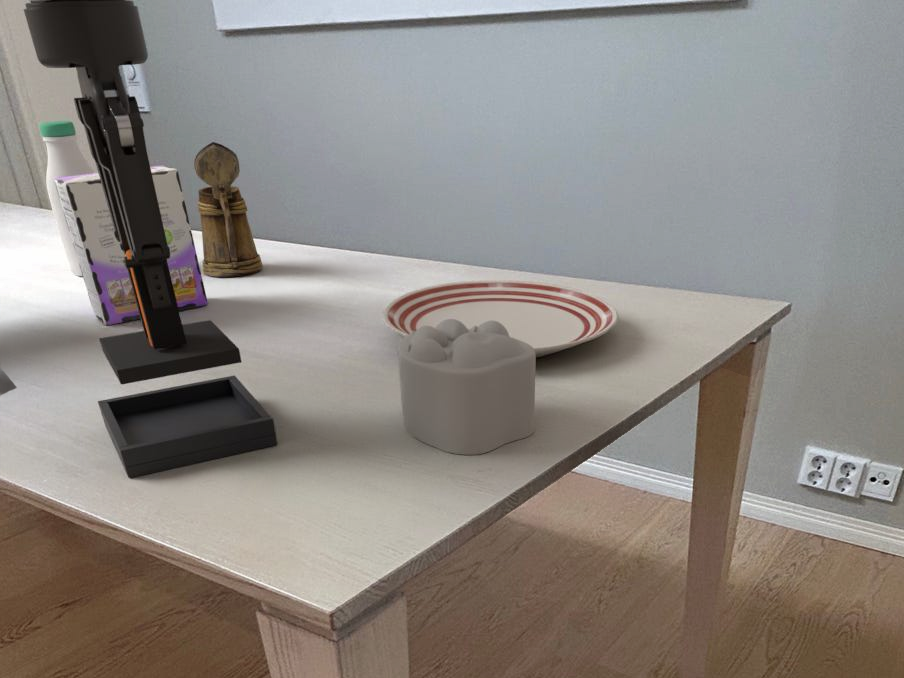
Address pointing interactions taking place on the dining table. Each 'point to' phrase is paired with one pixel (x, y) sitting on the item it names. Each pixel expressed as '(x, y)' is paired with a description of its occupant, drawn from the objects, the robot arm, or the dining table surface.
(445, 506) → the dining table surface
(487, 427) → the lumpy-topped squat cylinder
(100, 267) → the candy box
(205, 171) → the wooden mug
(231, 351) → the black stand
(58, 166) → the milk bottle
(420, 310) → the dinner plate
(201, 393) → the shallow rectangular tray
